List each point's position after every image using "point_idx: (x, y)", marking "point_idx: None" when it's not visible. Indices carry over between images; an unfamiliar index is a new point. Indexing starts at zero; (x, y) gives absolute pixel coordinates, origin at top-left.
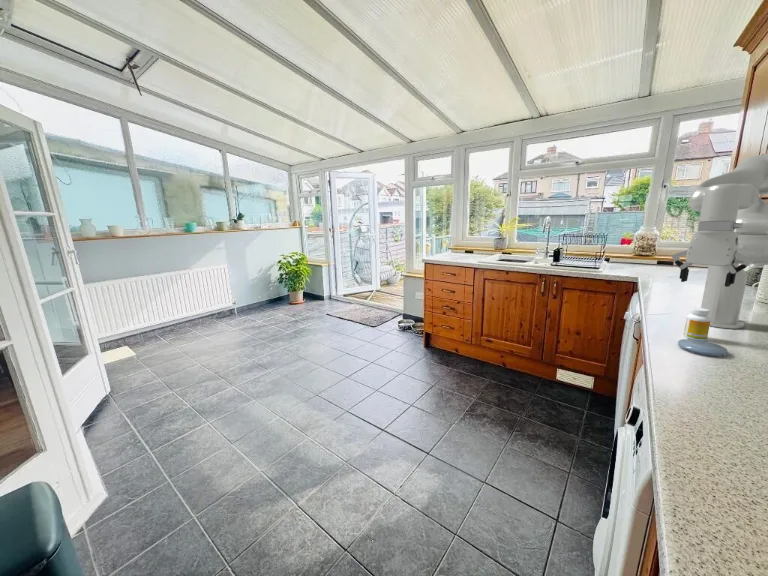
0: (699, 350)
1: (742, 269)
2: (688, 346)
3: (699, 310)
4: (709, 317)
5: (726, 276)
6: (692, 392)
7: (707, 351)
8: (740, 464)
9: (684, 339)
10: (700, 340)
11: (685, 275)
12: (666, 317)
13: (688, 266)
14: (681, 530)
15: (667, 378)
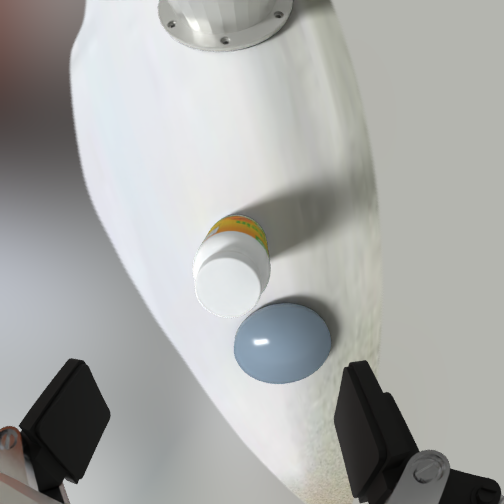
0: (288, 382)
1: (464, 479)
2: (265, 377)
3: (234, 316)
4: (264, 266)
5: (349, 480)
6: (311, 468)
7: (301, 378)
8: (346, 496)
9: (239, 335)
10: (268, 311)
11: (90, 442)
12: (100, 66)
13: (32, 465)
14: None
15: (282, 463)
